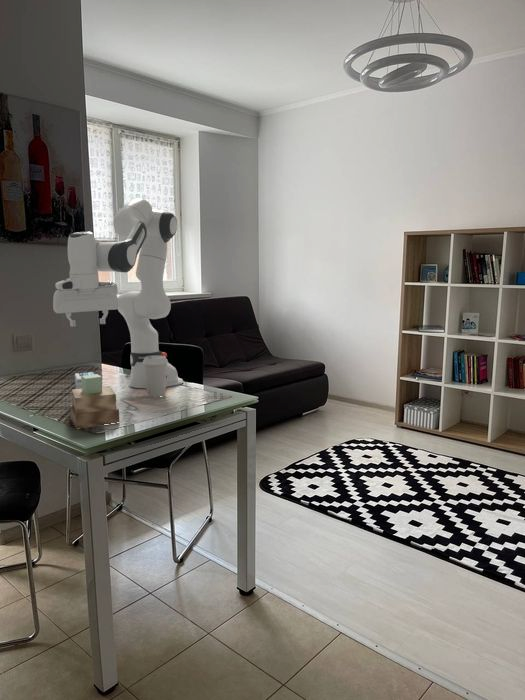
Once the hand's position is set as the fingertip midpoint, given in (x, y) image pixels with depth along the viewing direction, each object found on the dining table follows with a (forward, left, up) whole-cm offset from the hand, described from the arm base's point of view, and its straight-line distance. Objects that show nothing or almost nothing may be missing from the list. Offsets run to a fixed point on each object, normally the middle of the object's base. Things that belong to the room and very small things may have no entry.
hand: (88, 325), depth 170 cm
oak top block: (+1, +9, -26) cm, 27 cm away
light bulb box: (0, -13, -30) cm, 33 cm away
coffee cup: (-26, -13, -30) cm, 42 cm away
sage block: (+1, +9, -20) cm, 22 cm away
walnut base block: (+1, +9, -30) cm, 32 cm away
